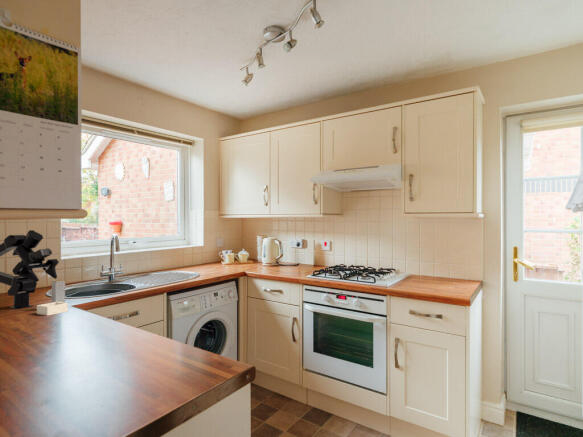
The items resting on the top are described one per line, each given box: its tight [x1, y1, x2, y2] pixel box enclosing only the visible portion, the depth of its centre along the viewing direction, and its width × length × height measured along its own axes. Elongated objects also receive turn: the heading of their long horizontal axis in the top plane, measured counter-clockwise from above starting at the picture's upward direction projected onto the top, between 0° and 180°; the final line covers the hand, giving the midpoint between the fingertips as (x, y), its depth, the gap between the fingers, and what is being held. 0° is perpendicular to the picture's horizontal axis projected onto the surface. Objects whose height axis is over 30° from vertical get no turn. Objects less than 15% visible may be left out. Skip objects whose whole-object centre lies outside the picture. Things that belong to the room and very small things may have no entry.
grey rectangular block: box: [51, 280, 66, 303], centre depth 152 cm, size 4×4×12 cm
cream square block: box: [36, 302, 69, 316], centre depth 143 cm, size 8×8×4 cm
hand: (47, 279), depth 153 cm, fingers open, 9 cm apart
